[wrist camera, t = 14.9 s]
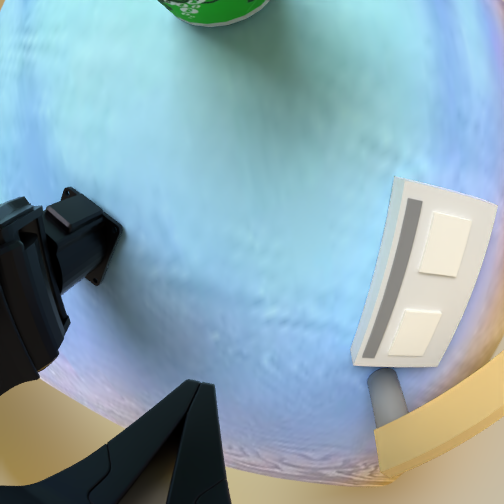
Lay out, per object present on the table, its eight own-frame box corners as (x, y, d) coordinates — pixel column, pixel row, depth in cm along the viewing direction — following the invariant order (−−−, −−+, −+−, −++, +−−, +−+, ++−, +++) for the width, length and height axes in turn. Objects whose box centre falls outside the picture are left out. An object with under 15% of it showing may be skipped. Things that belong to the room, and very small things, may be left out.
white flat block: (429, 352, 22) (438, 369, 19) (350, 349, 22) (353, 368, 20) (483, 199, 16) (500, 206, 14) (394, 175, 17) (406, 180, 15)
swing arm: (374, 392, 23) (391, 479, 15) (362, 378, 23) (378, 470, 14) (520, 290, 18) (577, 349, 9) (516, 268, 17) (581, 327, 8)
